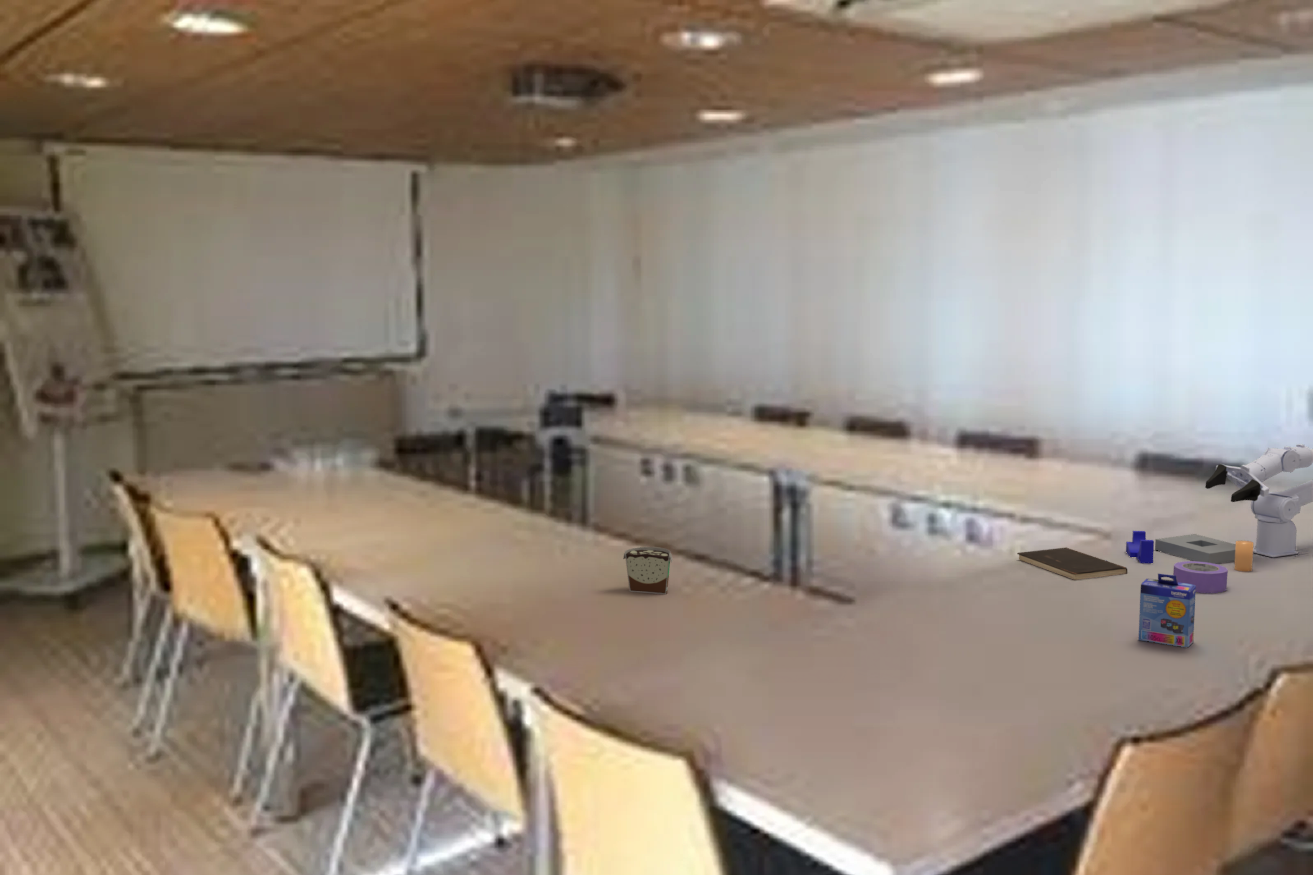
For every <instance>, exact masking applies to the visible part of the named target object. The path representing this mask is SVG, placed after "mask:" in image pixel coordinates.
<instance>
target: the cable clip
mask: <svg viewBox="0 0 1313 875" xmlns="http://www.w3.org/2000/svg"><path fill="white" fill-rule="evenodd" d="M1146 535H1147V534H1146V531H1145V530H1132V538H1131V539H1132V540H1131V541H1126V542H1125V545H1126V546H1125V553H1126V552H1127V553H1126V554H1127V556H1128V557H1129V556H1130V557H1129V558H1132V557H1136V559H1137V561H1138V560H1139V561H1138V562H1139V563H1140V564H1151V563H1153V564H1154V551H1155V542H1154V539H1147V538H1146V537H1147V536H1146Z"/></svg>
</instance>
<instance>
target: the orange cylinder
mask: <svg viewBox="0 0 1313 875" xmlns="http://www.w3.org/2000/svg"><path fill="white" fill-rule="evenodd" d="M1235 544H1236V547H1235V561H1234V567H1233V568H1234V571H1238V572H1245V573H1246V572H1248V573H1249V572H1252V571H1253V561H1254V560H1253V559H1254V558H1253V556H1254V553H1253V549H1254V542H1253V541H1249V540H1236V541H1235Z"/></svg>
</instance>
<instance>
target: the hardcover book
mask: <svg viewBox="0 0 1313 875" xmlns="http://www.w3.org/2000/svg"><path fill="white" fill-rule="evenodd" d="M1017 555H1018V560H1019V561H1021V562H1025V563H1028V564H1030V563H1031V564H1030V565H1033V566H1036V567H1039V568H1041V569H1044V570H1047V571H1050V572H1052V573H1055V574H1058V575H1060V576H1062V577H1066V578H1069V579H1072V580H1074V581H1077V580H1085V579H1086V580H1087V579H1093V578H1094V579H1095V578H1102V577H1111V576H1118V575H1120V576H1121V575H1125V574H1126V575H1127V574H1128V568H1127V567H1126V566H1123V565H1119V564H1117V563H1114V562H1111V561H1108V560H1105V559H1102V558H1099V557H1097V556H1094V555H1089V554H1087V553H1084V552H1081V551H1078V550H1076V549H1072V548H1068V547H1059V548H1049V549H1039V550H1031V551H1023V552H1021V551H1020V552H1017Z"/></svg>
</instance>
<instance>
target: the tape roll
mask: <svg viewBox="0 0 1313 875" xmlns="http://www.w3.org/2000/svg"><path fill="white" fill-rule="evenodd" d="M1172 571H1173V574H1172V575H1175V576H1176V578H1177V582H1179V583H1187V584H1193V585H1195V586H1196V592H1198V593H1197V594H1218V592H1220V593H1223V591H1224V592H1225V591H1227V586H1228V585H1227V584H1228V572H1229V569H1228V568H1227V567H1226V566H1223V565H1221V564H1213V563H1207V562H1198V561H1192V560H1186V561H1185V560H1184V561H1178V562H1175V563H1174V564H1173V570H1172ZM1172 580H1174V579H1172Z"/></svg>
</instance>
